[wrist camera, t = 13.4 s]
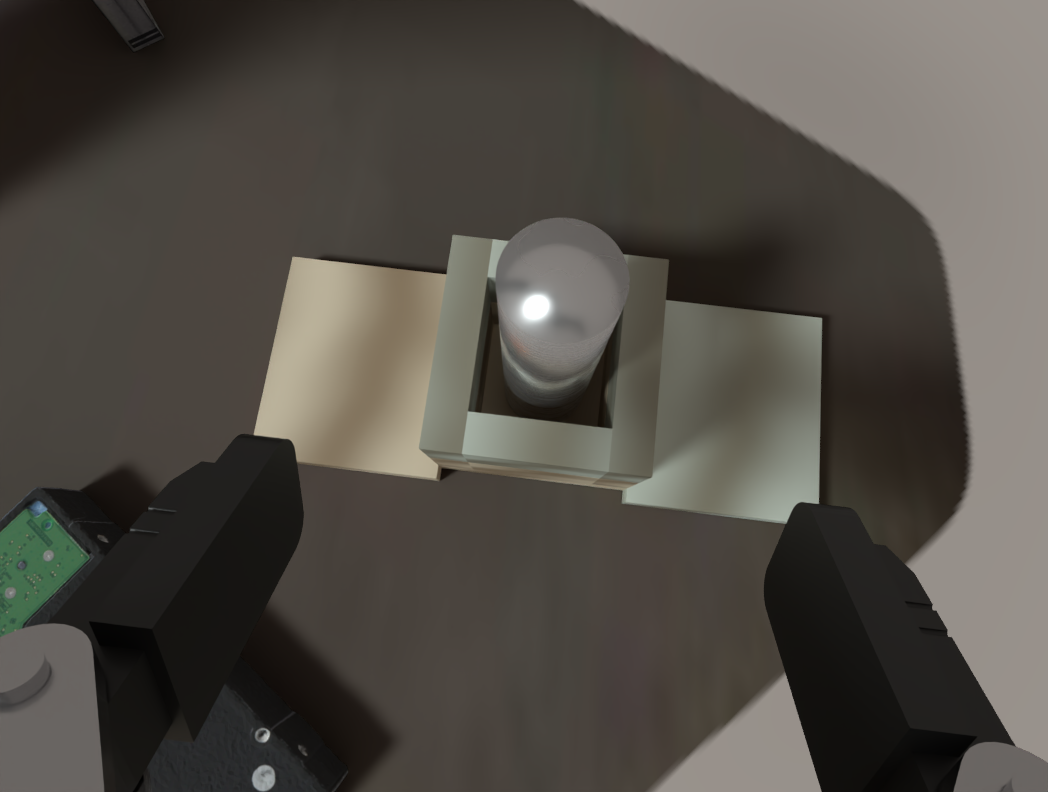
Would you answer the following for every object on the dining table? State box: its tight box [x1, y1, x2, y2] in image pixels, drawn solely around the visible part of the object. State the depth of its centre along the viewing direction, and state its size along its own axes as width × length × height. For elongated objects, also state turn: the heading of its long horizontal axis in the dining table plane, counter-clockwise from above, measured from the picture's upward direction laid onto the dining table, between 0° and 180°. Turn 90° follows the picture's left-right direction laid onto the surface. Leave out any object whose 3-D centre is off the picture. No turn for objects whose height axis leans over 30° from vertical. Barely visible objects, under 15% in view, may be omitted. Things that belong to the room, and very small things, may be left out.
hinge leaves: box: [254, 235, 822, 524], centre depth 22 cm, size 21×8×6 cm, turn 83°
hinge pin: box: [495, 218, 630, 422], centre depth 19 cm, size 3×3×10 cm
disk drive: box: [0, 487, 348, 792], centre depth 21 cm, size 10×3×15 cm
